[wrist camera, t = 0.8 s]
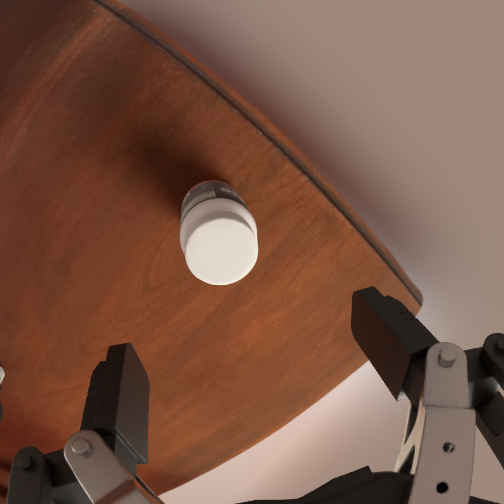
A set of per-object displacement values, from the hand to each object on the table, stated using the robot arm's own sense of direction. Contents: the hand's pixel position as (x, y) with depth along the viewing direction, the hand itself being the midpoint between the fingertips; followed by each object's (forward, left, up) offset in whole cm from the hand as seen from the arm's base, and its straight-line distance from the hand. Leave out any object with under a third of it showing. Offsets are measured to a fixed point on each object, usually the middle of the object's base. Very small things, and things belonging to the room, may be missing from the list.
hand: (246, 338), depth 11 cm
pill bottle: (0, 0, -16) cm, 16 cm away
